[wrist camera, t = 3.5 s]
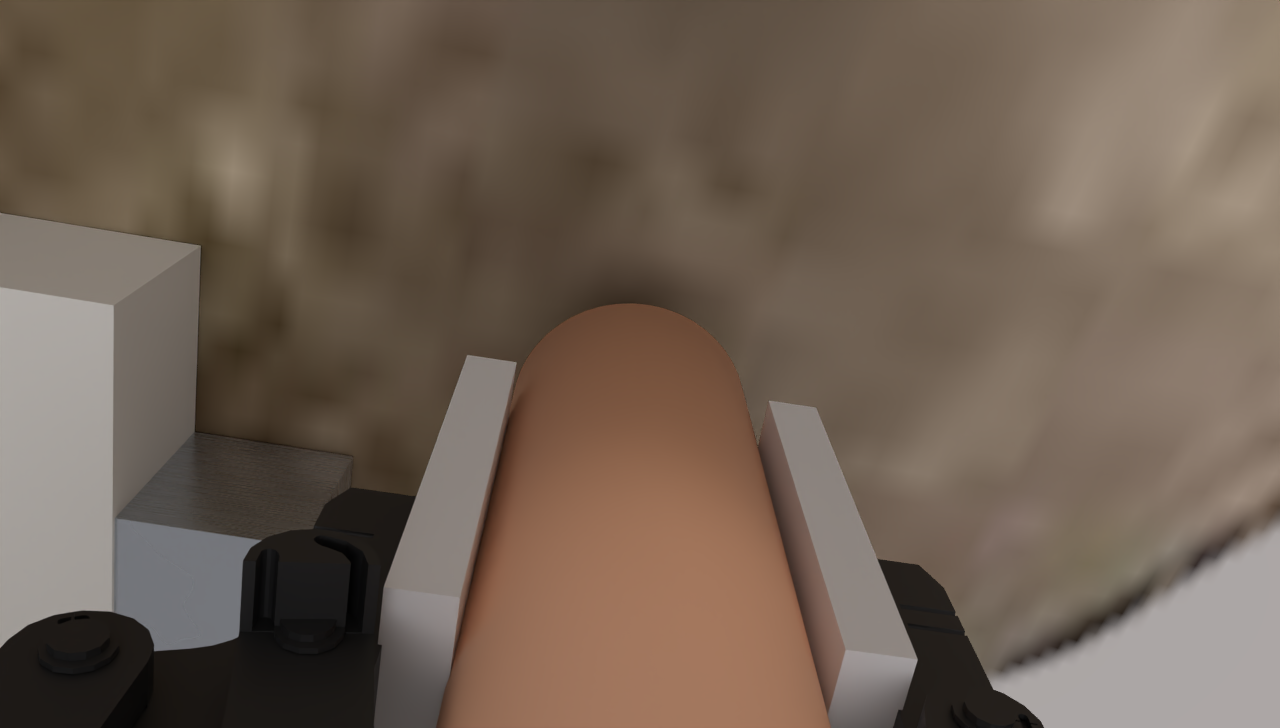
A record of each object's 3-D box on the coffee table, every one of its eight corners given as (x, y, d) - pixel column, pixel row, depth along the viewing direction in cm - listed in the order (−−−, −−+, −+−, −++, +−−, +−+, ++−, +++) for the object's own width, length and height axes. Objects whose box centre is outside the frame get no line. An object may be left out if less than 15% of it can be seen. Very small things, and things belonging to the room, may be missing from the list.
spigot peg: (498, 499, 20) (343, 1213, 9) (528, 286, 19) (391, 816, 8) (720, 531, 20) (839, 1261, 9) (766, 323, 19) (971, 887, 8)
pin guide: (188, 625, 28) (113, 736, 24) (194, 431, 26) (114, 518, 22) (336, 647, 28) (285, 760, 24) (353, 456, 26) (301, 546, 22)
